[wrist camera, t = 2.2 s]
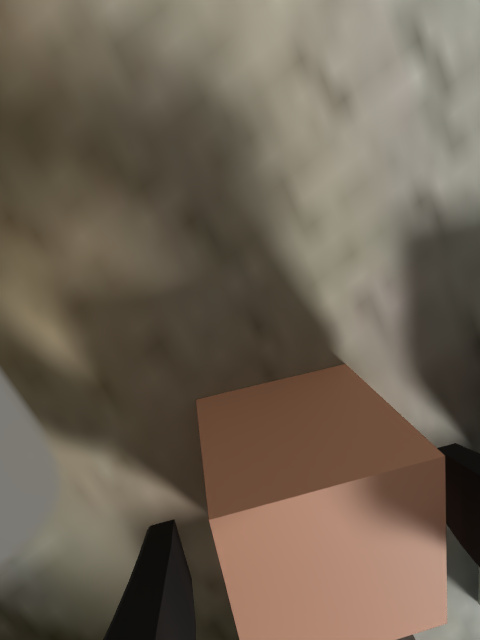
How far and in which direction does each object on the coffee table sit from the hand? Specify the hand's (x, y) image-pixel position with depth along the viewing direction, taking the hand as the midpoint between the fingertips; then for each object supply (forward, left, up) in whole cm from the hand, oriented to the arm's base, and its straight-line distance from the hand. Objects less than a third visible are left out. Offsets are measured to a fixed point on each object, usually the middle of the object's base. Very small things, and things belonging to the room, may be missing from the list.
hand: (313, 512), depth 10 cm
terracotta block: (0, 0, -3) cm, 3 cm away
